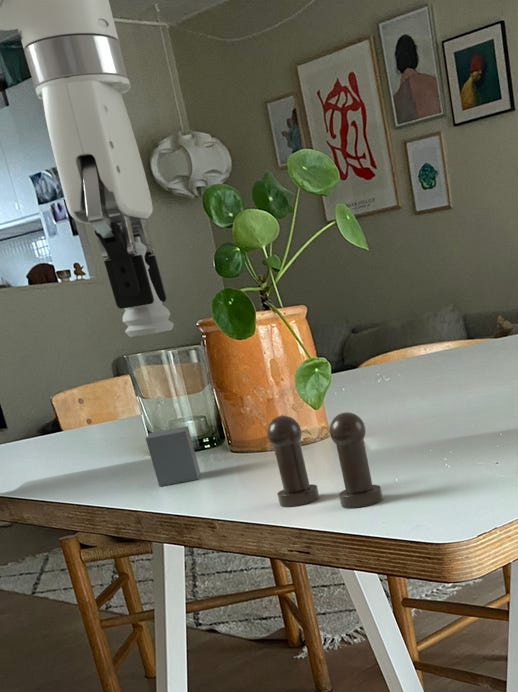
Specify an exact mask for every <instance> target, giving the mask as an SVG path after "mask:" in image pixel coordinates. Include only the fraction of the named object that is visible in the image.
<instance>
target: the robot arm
mask: <svg viewBox="0 0 518 692" xmlns="http://www.w3.org/2000/svg"><path fill="white" fill-rule="evenodd" d="M14 30H18V34H19V39H20V41H21V45H22V48H23V51H24V56H25V59H26V62H27V66H28V70H29V73H30V76H31V80H32V83H33V87H34V90H35V93H36V97H37V99H39V100H41V101H42V104H43V111H44V116H45V121H46V126H47V132H48V135H49V141H50V145H51V150H52V154H53V157H54V160H55V161H54V162H55V165H56V169H57V174H58V178H59V181H60V185H61V190H62V193H63V198H64V200H65V204H66V209H67V211H68V213H69V215H70V217H72V218H73V220H75V221H76V222H78V223H82V224H88V225H91V226H92V227H93V229H94V234H95V236H96V238H97V242H98V247H99V250H100V254H101V257H102V259H103V260H104V261H103V262H104V266H105V269H106V273H107V277H108V281H109V284H110V286H111V290H112V294H113V297H114V298H113V299H114V301H115V304H116V307H117V308H118V309H120V310H121V309H122V310H123V309H124V308H130V307H136V306H142V305H148V304H152V303H153V302H154V297H153V294H152V290H151V286H150V282H149V279H148V275H147V271H146V268H145V264H144V260H143V256H142V255H137V249H136V244H135V242H136V241H135V237H140V240H141V243H142V244H144V245H145V246H146V247H147V250H146V253H145V256H144V258H145V262H146V264H147V265H148V266H149V269H148V272H149V276H150V279H151V282H152V284H153V287H154V289H155V292H156V294H157V296H158V298H159V299H160V301H162V303H165V302H166V301H167V294H166V290H165V287H164V283H163V280H162V276H161V273H160V269H159V268H160V267H159V264H158V261H157V256H156V255H155V250H154V245H153V244H152V239H151V236H150V232H149V222H148V218H150V216H151V215H152V214H153V211H154V207H153V201H152V197H151V192H150V188H149V184H148V180H147V176H146V173H145V169H144V165H143V161H142V157H141V153H140V150H139V146H138V143H137V140H136V135H135V134H134V130H133V127H132V124H131V123H132V122H131V119H130V118H129V114H128V111H127V107H126V105H125V101H124V98H123V95H124V94H126V93H127V92H129V91H131V89H132V87H131V82H130V78H129V74H128V70H127V67H126V63H125V59H124V54H123V51H122V47H121V43H120V38H119V35H118V32H117V28H116V23H115V19H114V17H113V12H112V8H111V3H110V0H0V31H14ZM135 255H137V256H135Z"/></svg>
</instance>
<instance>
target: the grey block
mask: <svg viewBox="0 0 518 692" xmlns="http://www.w3.org/2000/svg"><path fill="white" fill-rule="evenodd" d="M192 440H193V439H192V437H191V433H190V429H189V426H188V425H187V426H182V427H176V428H169V429H165V430H159V431H154V432H149V433H148V434H147V436H146V438H145V441H146V446H147V449H148V452H149V456H150V459H151V463H152V466H153V469H154V470H153V471H154V473H155V476H156V481H157V483H158V487H165V486H171V485H176V484H180V483H186V482H191V481H192V482H193V481H196V480H199V478H200V474H201V470H200V467H199V466H200V465H199V462H198V459H197V455H196V451H195V448H194V443H193V441H192Z"/></svg>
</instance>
